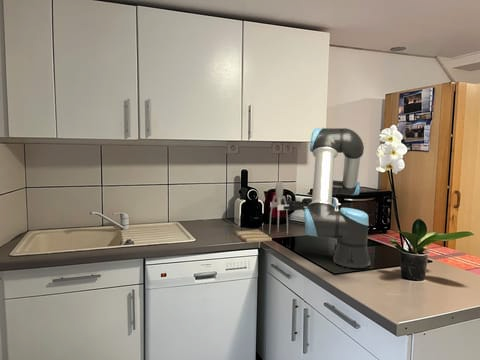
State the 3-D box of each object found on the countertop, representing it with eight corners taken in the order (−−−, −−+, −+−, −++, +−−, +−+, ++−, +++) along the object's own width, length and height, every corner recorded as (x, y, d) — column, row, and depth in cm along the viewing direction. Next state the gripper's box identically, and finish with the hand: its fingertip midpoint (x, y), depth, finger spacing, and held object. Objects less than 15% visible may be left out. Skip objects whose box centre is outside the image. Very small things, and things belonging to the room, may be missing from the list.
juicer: (292, 236, 191) (294, 181, 188) (277, 238, 187) (279, 182, 185) (283, 232, 200) (284, 180, 197) (269, 233, 197) (270, 180, 194)
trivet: (271, 240, 182) (271, 238, 182) (246, 242, 177) (246, 239, 177) (258, 232, 199) (258, 229, 199) (235, 233, 194) (235, 231, 194)
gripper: (320, 214, 189) (282, 216, 181) (300, 207, 208) (265, 209, 201) (321, 201, 188) (283, 202, 180) (301, 195, 208) (266, 196, 200)
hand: (274, 206), depth 190 cm, fingers closed on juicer, 8 cm apart
